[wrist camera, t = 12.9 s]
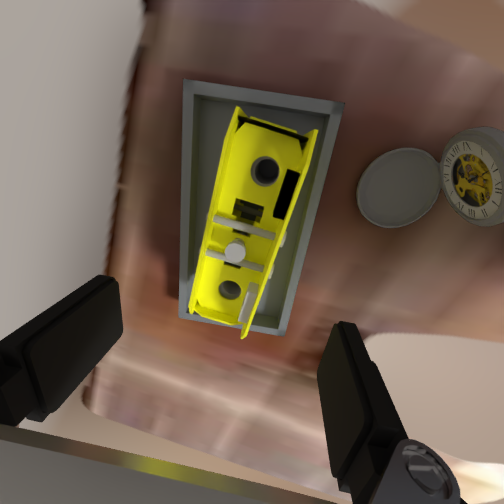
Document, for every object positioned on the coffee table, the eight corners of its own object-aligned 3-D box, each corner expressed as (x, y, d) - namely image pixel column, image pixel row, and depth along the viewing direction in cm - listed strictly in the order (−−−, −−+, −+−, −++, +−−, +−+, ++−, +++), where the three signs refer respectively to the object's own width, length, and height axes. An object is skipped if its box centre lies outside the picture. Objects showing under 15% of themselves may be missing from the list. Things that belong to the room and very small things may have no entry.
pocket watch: (338, 197, 22) (384, 233, 12) (413, 108, 18) (549, 68, 9) (403, 247, 23) (488, 312, 14) (484, 171, 20) (665, 191, 10)
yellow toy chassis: (255, 294, 26) (246, 355, 18) (204, 279, 26) (174, 334, 18) (310, 138, 19) (332, 130, 12) (243, 116, 19) (222, 94, 12)
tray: (336, 108, 19) (345, 102, 17) (283, 321, 28) (284, 336, 25) (194, 87, 19) (183, 78, 17) (186, 303, 28) (178, 317, 26)
